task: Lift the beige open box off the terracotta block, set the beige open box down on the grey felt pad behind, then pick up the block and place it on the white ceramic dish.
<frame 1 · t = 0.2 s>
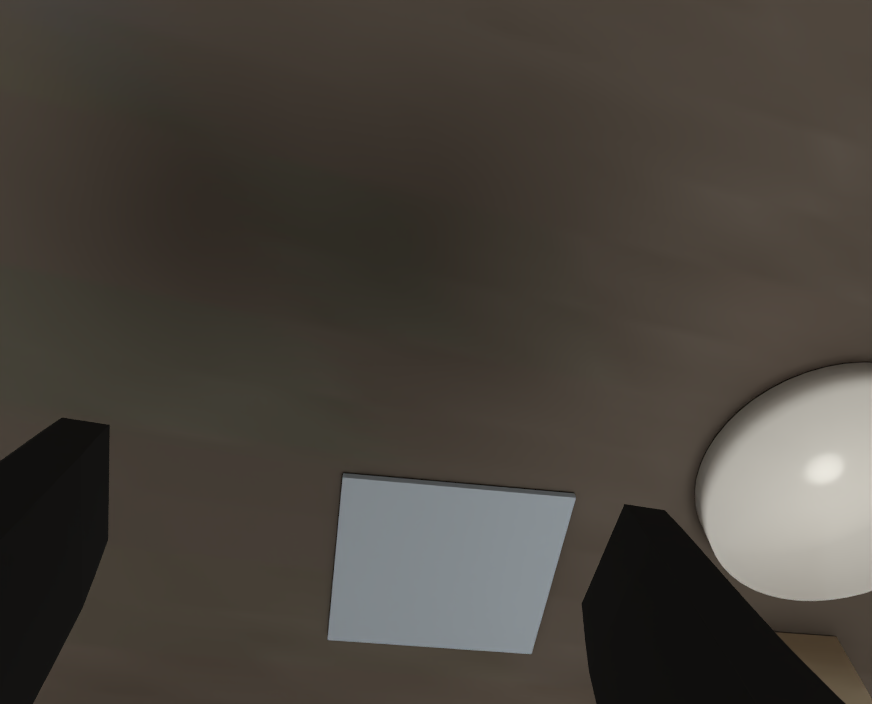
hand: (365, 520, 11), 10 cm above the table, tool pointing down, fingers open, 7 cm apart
dish: (828, 476, 24), on the table
beige open box: (728, 681, 28), on the table
pad: (444, 568, 25), on the table
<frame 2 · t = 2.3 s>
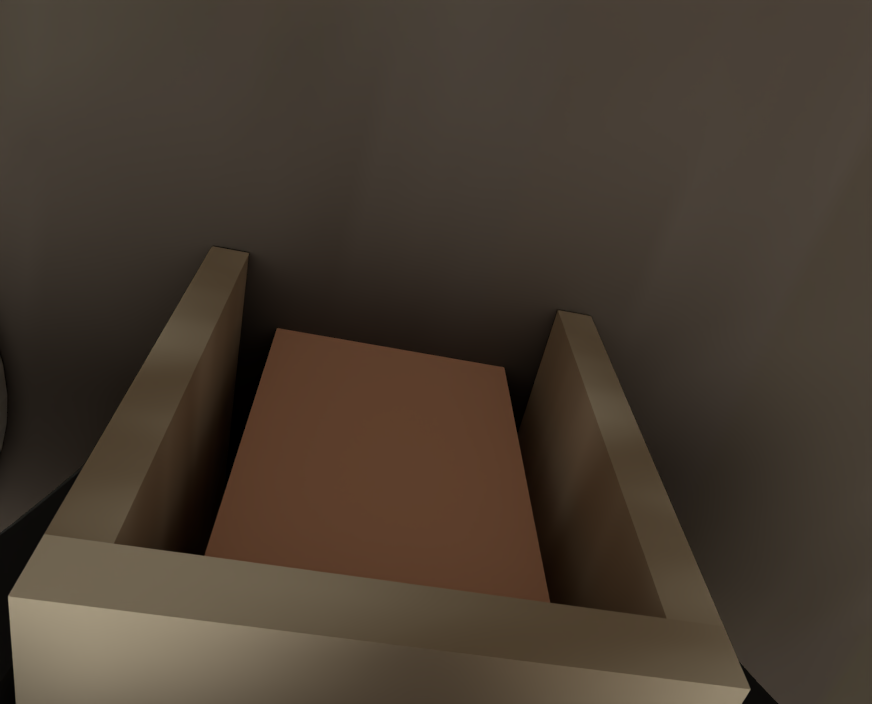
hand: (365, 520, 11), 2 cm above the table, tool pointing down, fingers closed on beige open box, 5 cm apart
block: (364, 553, 10), in the beige open box
beige open box: (370, 451, 12), on the table, touching gripper
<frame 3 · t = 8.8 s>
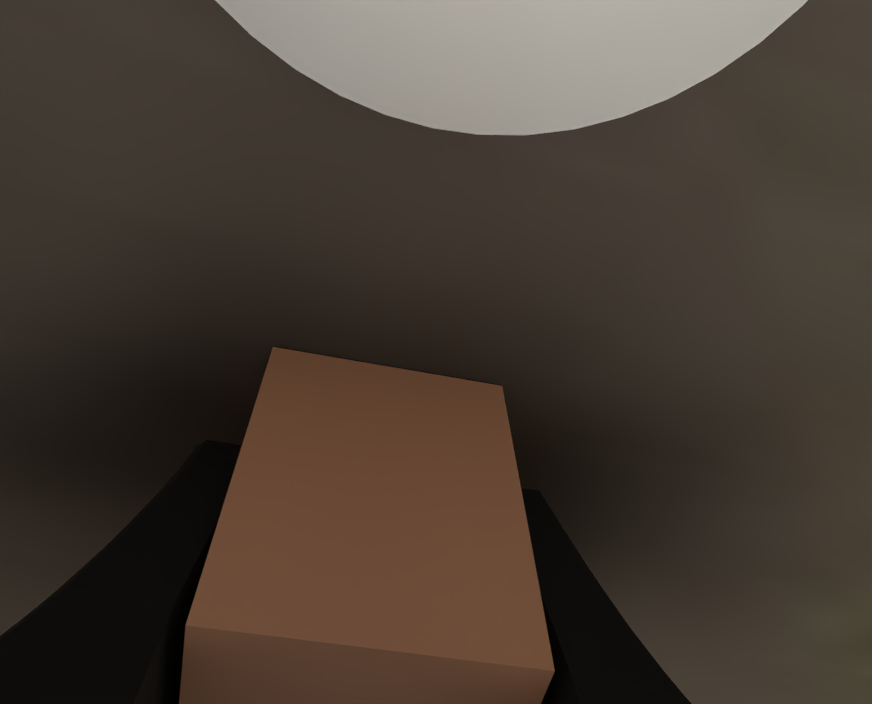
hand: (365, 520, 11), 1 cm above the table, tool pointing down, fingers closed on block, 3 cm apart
block: (360, 577, 10), on the table, touching gripper
when the fingers open (4 cm above the table, at t = 11.5 s): block stays where it is, resting on dish.
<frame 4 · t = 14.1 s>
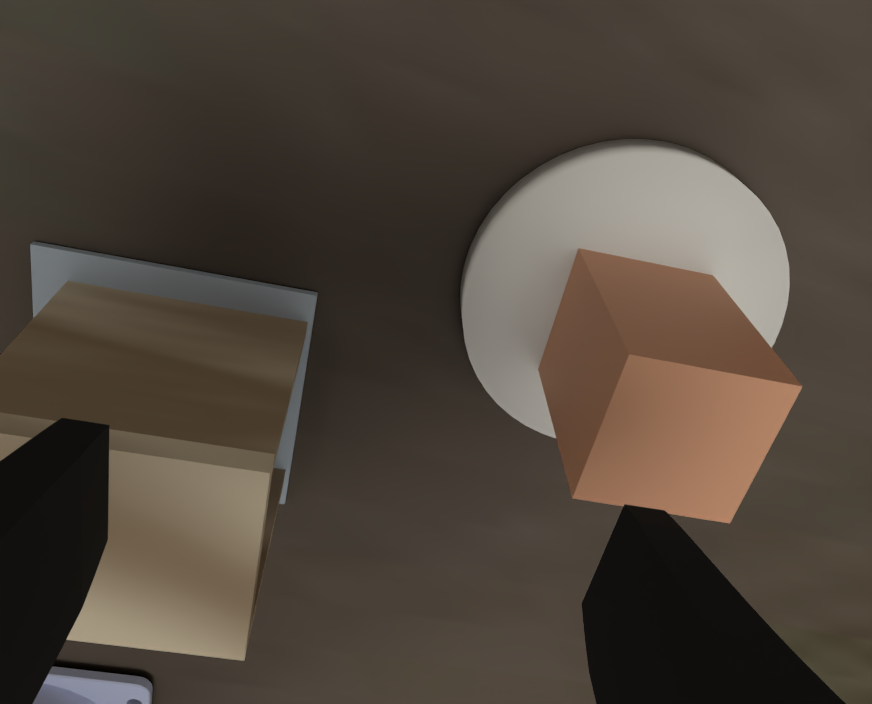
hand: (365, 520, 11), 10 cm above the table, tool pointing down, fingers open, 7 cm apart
block: (649, 376, 17), on the dish, point 4 cm above the table
dish: (614, 293, 20), on the table
beige open box: (184, 389, 21), resting on pad
pad: (172, 383, 21), on the table
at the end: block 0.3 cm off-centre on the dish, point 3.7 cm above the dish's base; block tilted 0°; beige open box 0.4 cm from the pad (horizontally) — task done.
